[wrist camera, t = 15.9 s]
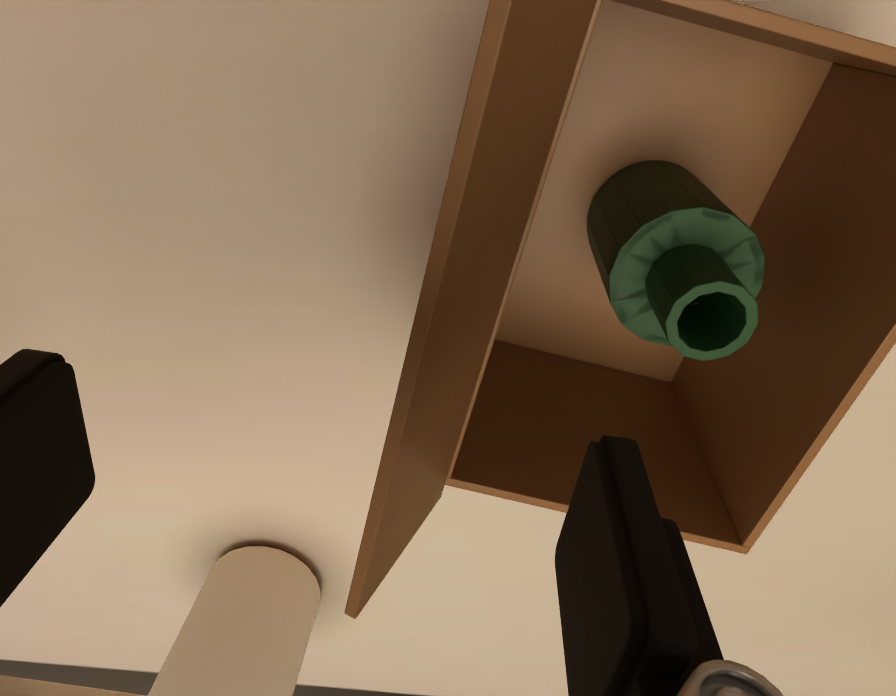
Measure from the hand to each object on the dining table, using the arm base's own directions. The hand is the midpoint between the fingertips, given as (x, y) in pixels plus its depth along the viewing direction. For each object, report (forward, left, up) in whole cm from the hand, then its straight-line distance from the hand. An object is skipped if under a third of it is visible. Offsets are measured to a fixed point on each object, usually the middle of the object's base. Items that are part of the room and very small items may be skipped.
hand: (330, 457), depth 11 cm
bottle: (+11, 0, -22) cm, 24 cm away
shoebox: (+10, 0, -22) cm, 24 cm away
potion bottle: (-5, -33, -22) cm, 40 cm away
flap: (+2, 0, -6) cm, 7 cm away
